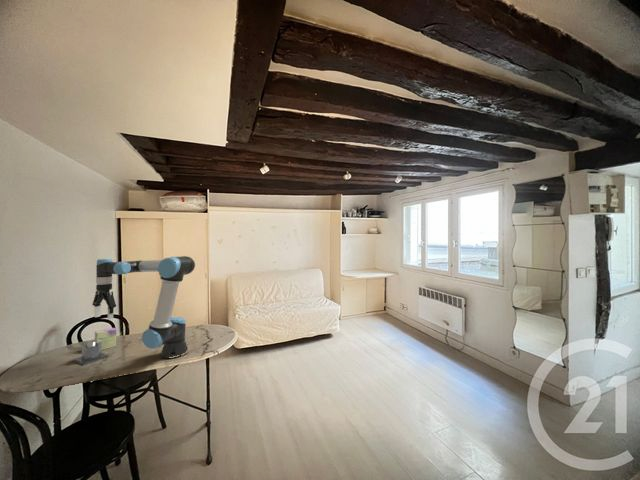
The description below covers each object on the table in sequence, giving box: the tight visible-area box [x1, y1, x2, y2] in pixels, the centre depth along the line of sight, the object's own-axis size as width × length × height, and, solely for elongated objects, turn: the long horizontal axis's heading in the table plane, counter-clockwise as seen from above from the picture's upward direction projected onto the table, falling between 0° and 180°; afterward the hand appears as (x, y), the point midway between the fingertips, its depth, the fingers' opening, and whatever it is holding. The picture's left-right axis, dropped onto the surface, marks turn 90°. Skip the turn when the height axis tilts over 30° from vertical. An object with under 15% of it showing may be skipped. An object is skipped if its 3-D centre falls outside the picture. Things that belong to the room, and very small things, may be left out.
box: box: [94, 327, 118, 351], centre depth 170 cm, size 10×6×12 cm, turn 145°
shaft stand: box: [72, 340, 109, 366], centre depth 153 cm, size 12×12×10 cm
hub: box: [81, 343, 102, 360], centre depth 153 cm, size 8×8×7 cm
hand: (103, 317), depth 155 cm, fingers open, 13 cm apart
